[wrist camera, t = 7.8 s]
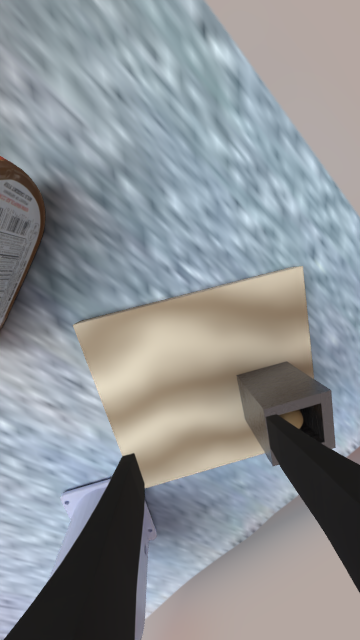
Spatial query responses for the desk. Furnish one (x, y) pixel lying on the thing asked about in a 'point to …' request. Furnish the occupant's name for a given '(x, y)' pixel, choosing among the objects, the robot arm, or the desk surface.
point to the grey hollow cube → (286, 403)
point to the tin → (17, 230)
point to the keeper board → (194, 370)
